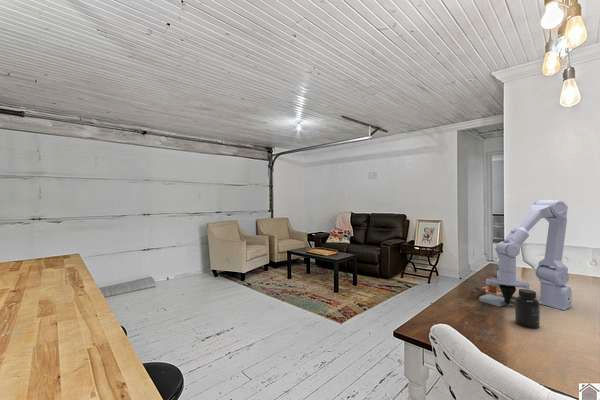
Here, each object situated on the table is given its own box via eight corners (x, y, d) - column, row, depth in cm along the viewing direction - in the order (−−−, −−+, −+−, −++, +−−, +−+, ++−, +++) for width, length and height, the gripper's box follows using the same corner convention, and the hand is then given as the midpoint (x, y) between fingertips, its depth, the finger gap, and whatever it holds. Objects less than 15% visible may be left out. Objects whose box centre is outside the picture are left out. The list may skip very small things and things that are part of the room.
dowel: (498, 293, 131) (498, 278, 131) (493, 294, 130) (493, 279, 130) (491, 291, 134) (491, 276, 134) (486, 292, 133) (486, 277, 133)
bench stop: (485, 296, 129) (485, 286, 129) (475, 299, 126) (475, 289, 125) (480, 295, 131) (480, 285, 131) (470, 298, 127) (470, 288, 127)
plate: (508, 303, 122) (508, 299, 122) (499, 307, 117) (499, 302, 117) (488, 298, 128) (488, 293, 128) (479, 301, 124) (479, 296, 124)
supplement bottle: (537, 322, 102) (537, 289, 102) (541, 330, 96) (541, 295, 96) (513, 318, 106) (513, 286, 106) (516, 326, 100) (516, 292, 100)
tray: (508, 295, 131) (508, 291, 131) (498, 299, 126) (498, 294, 126) (487, 289, 139) (487, 286, 139) (476, 292, 134) (476, 289, 134)
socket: (523, 301, 123) (523, 298, 123) (514, 304, 120) (514, 301, 120) (505, 296, 129) (505, 293, 129) (496, 299, 126) (496, 296, 126)
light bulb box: (512, 283, 149) (512, 263, 148) (496, 281, 153) (496, 261, 152) (512, 278, 157) (512, 259, 157) (497, 276, 161) (497, 257, 161)
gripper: (526, 270, 118) (526, 302, 119) (485, 266, 125) (484, 297, 125) (531, 274, 112) (531, 308, 112) (487, 270, 118) (487, 303, 119)
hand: (507, 303), depth 118 cm, fingers closed
